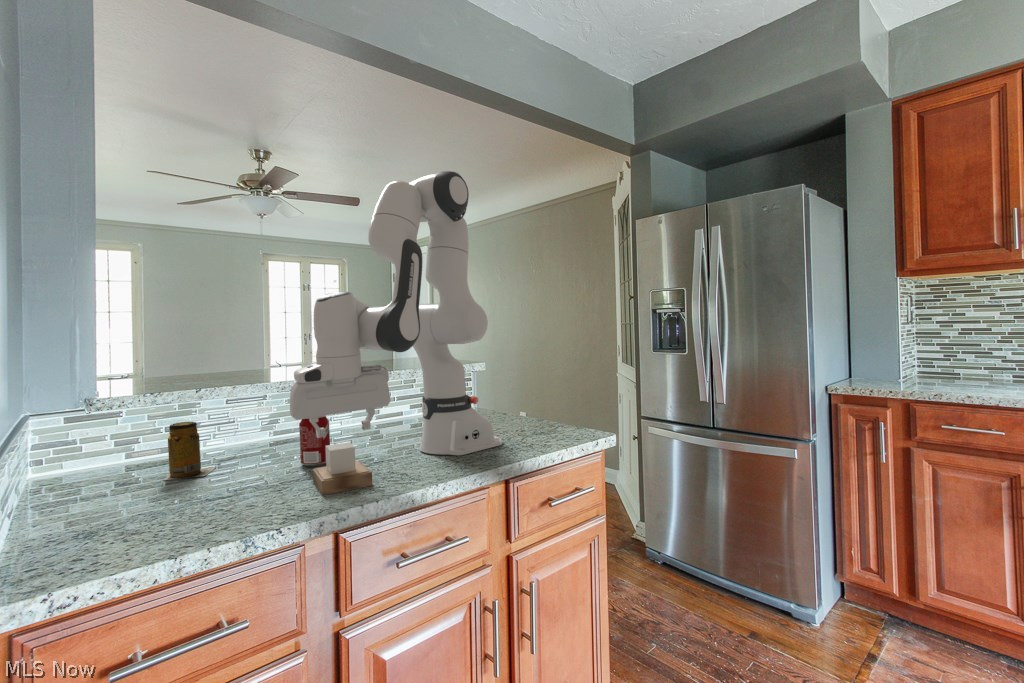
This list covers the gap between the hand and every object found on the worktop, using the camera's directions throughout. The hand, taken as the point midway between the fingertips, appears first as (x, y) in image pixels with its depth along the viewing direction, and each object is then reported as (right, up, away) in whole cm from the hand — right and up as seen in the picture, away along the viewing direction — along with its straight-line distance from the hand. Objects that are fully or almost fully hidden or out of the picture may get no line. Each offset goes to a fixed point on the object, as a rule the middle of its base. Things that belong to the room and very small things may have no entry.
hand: (344, 433), depth 103 cm
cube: (-1, -8, 0) cm, 8 cm away
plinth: (0, -11, 0) cm, 11 cm away
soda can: (-12, -11, +15) cm, 22 cm away
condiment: (-39, -12, +9) cm, 41 cm away
